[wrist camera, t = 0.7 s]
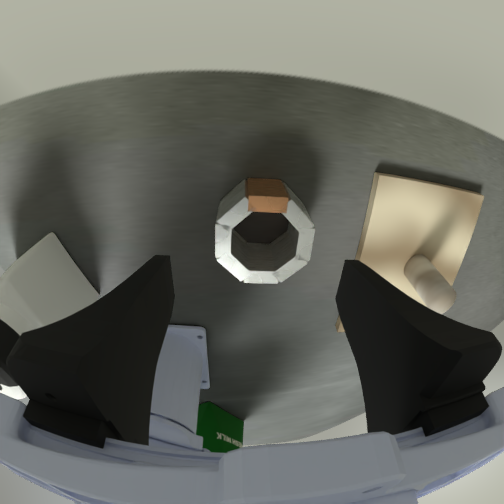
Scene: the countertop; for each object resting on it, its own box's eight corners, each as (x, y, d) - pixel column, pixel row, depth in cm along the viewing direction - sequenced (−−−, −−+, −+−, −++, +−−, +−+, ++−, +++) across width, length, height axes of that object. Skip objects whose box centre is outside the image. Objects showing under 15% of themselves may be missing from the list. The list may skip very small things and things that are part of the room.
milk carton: (253, 421, 34) (259, 558, 17) (203, 435, 36) (197, 555, 19) (210, 395, 30) (203, 560, 13) (158, 411, 33) (140, 548, 15)
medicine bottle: (15, 260, 21) (-55, 346, 10) (53, 229, 19) (-36, 329, 9) (58, 315, 24) (8, 410, 14) (102, 295, 23) (47, 410, 12)
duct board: (429, 319, 26) (452, 357, 21) (335, 326, 25) (351, 373, 20) (478, 192, 19) (520, 220, 14) (374, 172, 18) (414, 200, 13)
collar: (296, 255, 21) (305, 284, 18) (219, 253, 21) (215, 281, 18) (307, 181, 18) (320, 200, 15) (220, 176, 18) (215, 194, 15)
